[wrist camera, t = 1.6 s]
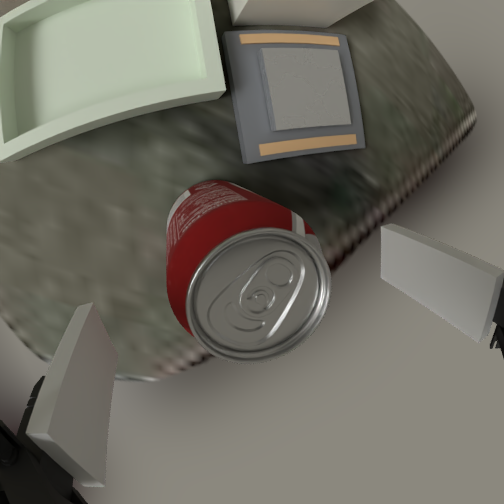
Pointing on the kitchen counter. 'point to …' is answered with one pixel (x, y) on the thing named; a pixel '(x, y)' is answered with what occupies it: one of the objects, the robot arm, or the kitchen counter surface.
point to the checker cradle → (254, 101)
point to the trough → (100, 66)
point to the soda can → (244, 273)
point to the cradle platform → (303, 87)
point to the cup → (291, 12)
